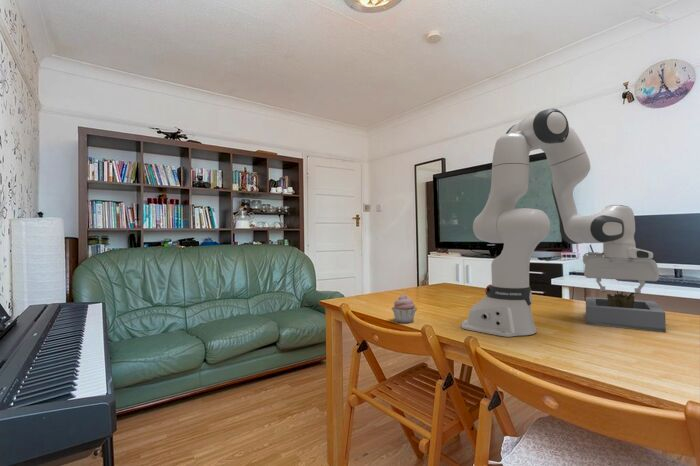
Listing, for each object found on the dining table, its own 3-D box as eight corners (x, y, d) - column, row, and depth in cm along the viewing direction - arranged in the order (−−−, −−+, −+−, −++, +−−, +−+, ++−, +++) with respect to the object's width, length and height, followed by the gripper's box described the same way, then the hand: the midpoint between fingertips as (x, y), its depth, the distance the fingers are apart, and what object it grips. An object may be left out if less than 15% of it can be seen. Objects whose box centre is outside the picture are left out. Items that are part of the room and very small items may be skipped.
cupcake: (409, 325, 120) (408, 297, 120) (386, 322, 126) (386, 294, 126) (422, 320, 127) (421, 293, 127) (400, 317, 134) (400, 291, 134)
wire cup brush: (625, 315, 122) (624, 293, 122) (640, 320, 115) (640, 296, 115) (602, 315, 123) (602, 293, 123) (617, 321, 116) (616, 297, 116)
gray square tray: (586, 324, 117) (585, 306, 117) (586, 312, 133) (585, 296, 133) (665, 332, 105) (665, 312, 105) (655, 318, 122) (654, 301, 122)
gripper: (582, 252, 122) (583, 291, 122) (659, 253, 111) (660, 296, 111) (582, 251, 128) (583, 289, 127) (656, 252, 116) (657, 293, 116)
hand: (619, 292), depth 119 cm, fingers open, 8 cm apart
